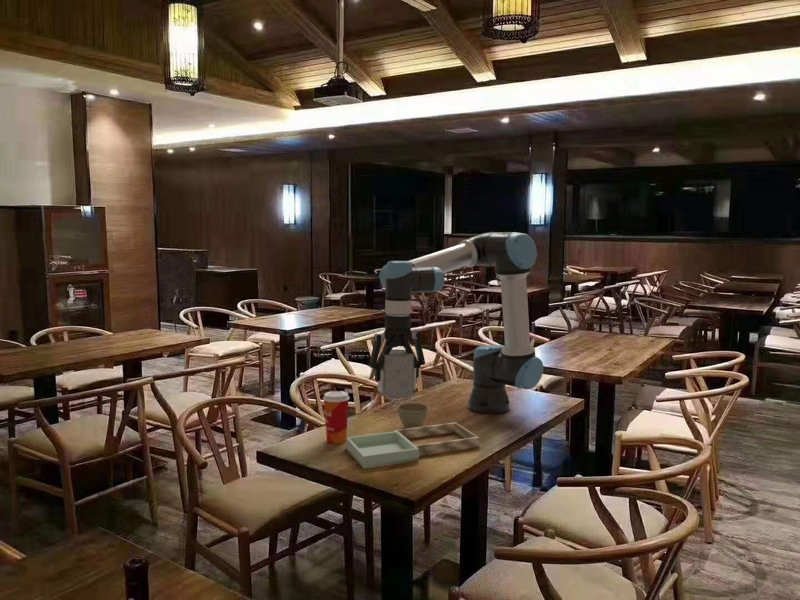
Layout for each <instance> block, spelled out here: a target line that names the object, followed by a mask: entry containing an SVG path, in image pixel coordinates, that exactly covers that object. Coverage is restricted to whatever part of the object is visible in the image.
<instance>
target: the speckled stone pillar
mask: <svg viewBox="0 0 800 600" xmlns="http://www.w3.org/2000/svg"><path fill="white" fill-rule="evenodd" d="M381 353H382V351H381V352H380V354H381ZM382 354H383V353H382ZM383 355H385V354H383ZM414 355H415V352H414V351H413V353H408V352H406V350H405V349H392V350H391V351H390V353H389V355H385V360H384V364H383V366H382V368H381V369H382V370H384V378H383V393H380V395H381V396H382V397H384V398H388V399H389V398H390V399H407V398H410V397H412V396H413V395H414V390H413V362H414Z"/></svg>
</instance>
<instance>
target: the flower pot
mask: <svg viewBox="0 0 800 600" xmlns="http://www.w3.org/2000/svg"><path fill="white" fill-rule="evenodd" d="M428 410H429V407H428V406H427V405H426V404H423V403H416V402H408V403H402V404H399V405H397V412H398V417H399V420H400V422H401V424H402V425H403V427H404V429H407V428H415V427H423V426H424V425H423V424H424V422H425V420H426V418H427V416H428V412H429V411H428Z"/></svg>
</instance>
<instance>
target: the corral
mask: <svg viewBox="0 0 800 600" xmlns="http://www.w3.org/2000/svg"><path fill="white" fill-rule="evenodd" d="M394 431H398V432H399V433H400V434H402V435H403V436H404V437H405V438H406V439H408V440H409V439H414V438H421V437H422V438H423V437H429V436H430V437H431V436H437V435H443V434H450V433H451V434H452V433H453V434H454V433H455V434H456V435H458V436H459V437H461V438H459V439H451V440H443V441H437V442H429V443H422V444H414V443H413V442H412V441H411V440H409V441H410V442H411V443H412V444H414V445H415V446H416V447H417V448H418V449H419V457H420V456H425V455H426V456H427V455H434V454H440V453H447V452H455V451H461V450H468V449H475V448H476V449H477V448H480V437H479V436H478V435H476V434H475V433H473V432H472V431H470V430H468V429H467V428H466V427H464V426H462V425H461V424H459V423H457V422H447V423H440V424H433V425H426V426H425V425H422V426H421V427H415V428H407V429H405V428H402V429H401V428H400V429H394V430H393V432H394Z"/></svg>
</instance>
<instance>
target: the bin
mask: <svg viewBox="0 0 800 600" xmlns="http://www.w3.org/2000/svg"><path fill="white" fill-rule="evenodd" d="M410 441H411V440H410V439H409V438H408V439H406V438H405V437H404V436H403V435H402V434H400V433H399V432H398V431H394V430H393V431H387V432H378V433H372V434H371V433H370V434H363V435H356V436H355V435H354V436H348V437H347V436H346V442H345V450H346V451H347V452H348V453H349V455H351V456H352V457H353V458H354V459H355V461H356V462H357V463H358V465H360V467H361V468H362V469H363V470H365V469H372V468H377V467H385V466H392V465H398V464H407V463H412V462H419V460H420V456H419V449H418V448H417V447H416V446H415V445H416V444H414V443H413V442H412V441H411V442H412V443H413V444H412V443H411V442H410Z"/></svg>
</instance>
